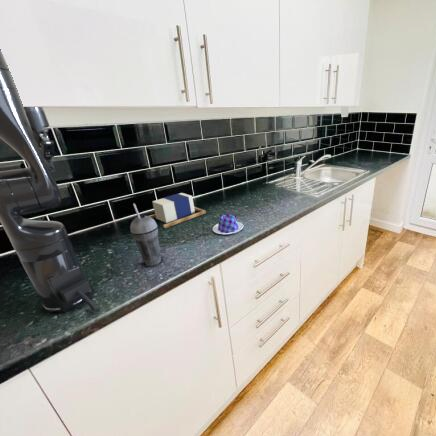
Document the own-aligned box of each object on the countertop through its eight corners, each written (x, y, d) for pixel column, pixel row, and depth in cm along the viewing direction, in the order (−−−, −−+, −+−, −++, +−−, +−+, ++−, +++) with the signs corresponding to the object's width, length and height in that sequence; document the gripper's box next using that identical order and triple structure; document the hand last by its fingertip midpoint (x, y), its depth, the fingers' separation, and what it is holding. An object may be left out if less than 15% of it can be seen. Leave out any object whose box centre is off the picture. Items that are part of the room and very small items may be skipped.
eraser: (166, 223, 107) (162, 205, 104) (156, 218, 111) (151, 201, 108) (195, 212, 117) (192, 195, 114) (184, 208, 122) (181, 192, 118)
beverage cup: (170, 257, 83) (157, 199, 75) (155, 269, 77) (138, 208, 68) (151, 254, 85) (136, 197, 76) (134, 266, 78) (115, 206, 70)
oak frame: (164, 228, 102) (164, 225, 102) (146, 219, 111) (146, 216, 110) (206, 213, 116) (205, 210, 116) (187, 206, 125) (187, 203, 124)
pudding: (249, 230, 101) (248, 217, 98) (220, 239, 94) (218, 226, 92) (235, 220, 109) (234, 208, 107) (208, 227, 103) (206, 215, 101)
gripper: (53, 109, 71) (76, 171, 78) (31, 109, 76) (54, 167, 83) (17, 110, 64) (45, 177, 72) (-4, 110, 70) (24, 172, 77)
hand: (50, 171), depth 77 cm, fingers closed
